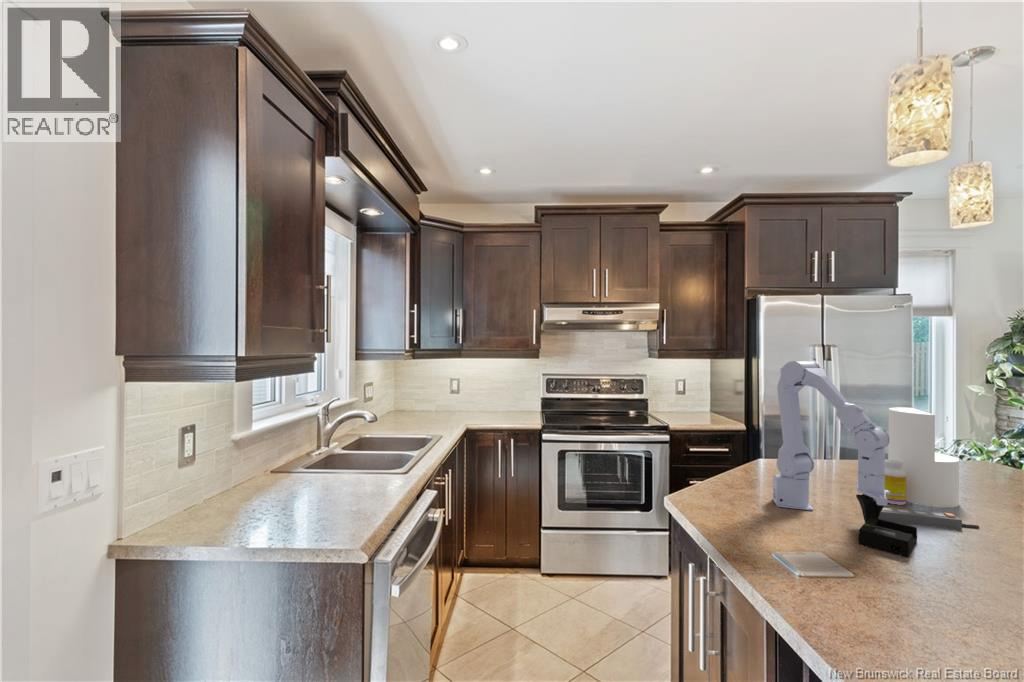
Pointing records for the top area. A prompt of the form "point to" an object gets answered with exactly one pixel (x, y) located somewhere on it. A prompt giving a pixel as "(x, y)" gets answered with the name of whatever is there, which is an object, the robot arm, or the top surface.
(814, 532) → the top surface
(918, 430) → the white stepped block
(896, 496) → the supplement bottle
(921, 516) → the power strip
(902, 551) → the battery charger
